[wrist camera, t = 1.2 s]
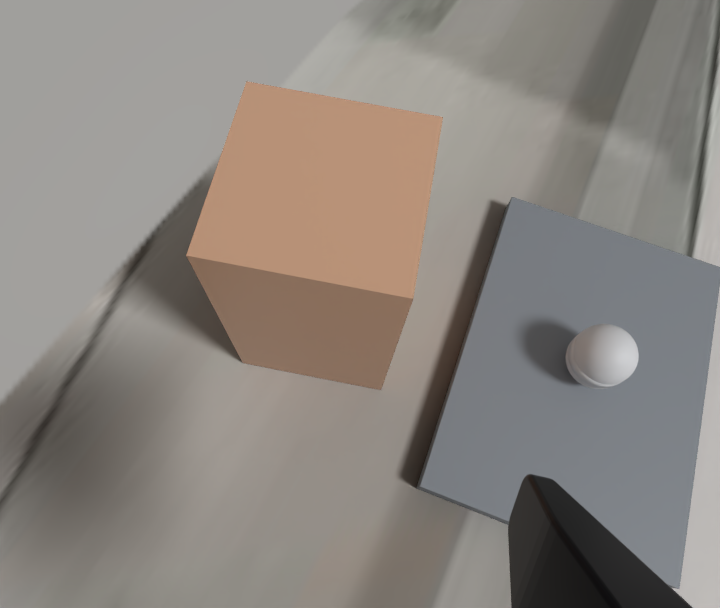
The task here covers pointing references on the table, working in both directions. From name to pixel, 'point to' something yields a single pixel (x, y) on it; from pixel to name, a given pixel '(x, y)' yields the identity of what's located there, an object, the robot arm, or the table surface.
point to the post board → (560, 411)
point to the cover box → (316, 231)
